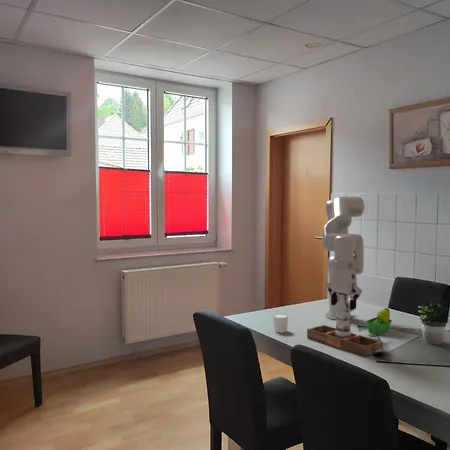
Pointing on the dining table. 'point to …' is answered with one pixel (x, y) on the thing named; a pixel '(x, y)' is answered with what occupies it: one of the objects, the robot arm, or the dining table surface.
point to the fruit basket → (380, 322)
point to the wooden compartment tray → (344, 341)
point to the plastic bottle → (342, 317)
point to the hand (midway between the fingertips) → (343, 306)
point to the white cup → (280, 323)
